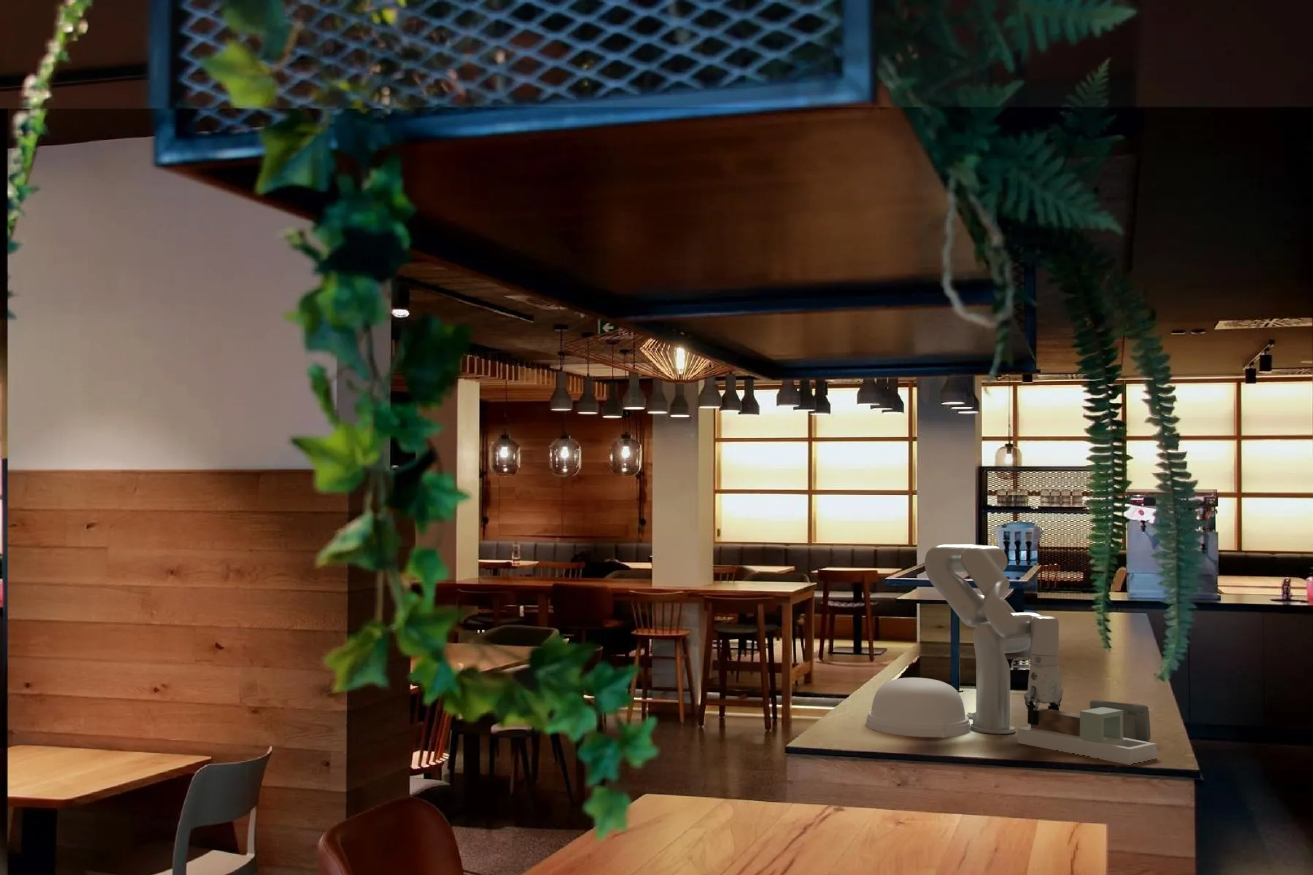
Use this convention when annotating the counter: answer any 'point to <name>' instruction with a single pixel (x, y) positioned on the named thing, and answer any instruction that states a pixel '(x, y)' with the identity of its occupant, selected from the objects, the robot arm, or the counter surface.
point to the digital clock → (1130, 718)
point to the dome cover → (918, 709)
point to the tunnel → (1101, 724)
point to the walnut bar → (1058, 721)
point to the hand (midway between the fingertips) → (1043, 722)
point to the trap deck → (1090, 746)
